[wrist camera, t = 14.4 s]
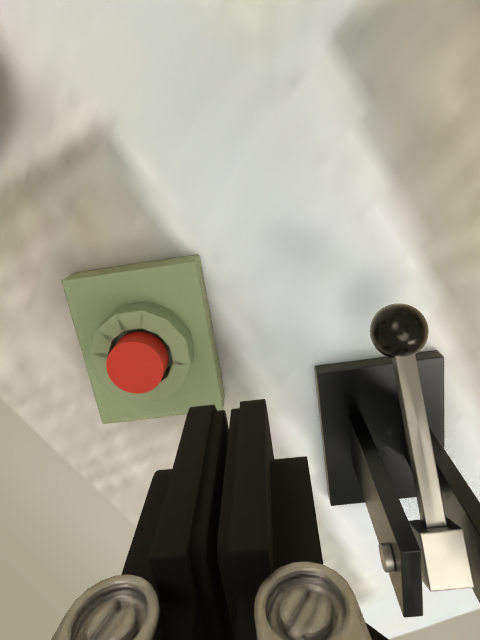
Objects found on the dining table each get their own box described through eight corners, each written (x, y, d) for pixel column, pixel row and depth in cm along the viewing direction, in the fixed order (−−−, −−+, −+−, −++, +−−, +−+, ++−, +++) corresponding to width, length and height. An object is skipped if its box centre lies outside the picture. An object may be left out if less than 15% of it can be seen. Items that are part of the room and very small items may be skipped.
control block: (73, 272, 32) (49, 287, 28) (199, 254, 31) (192, 267, 28) (111, 409, 36) (94, 438, 32) (225, 394, 35) (221, 423, 31)
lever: (361, 312, 28) (371, 302, 25) (413, 305, 28) (430, 294, 25) (405, 571, 26) (422, 596, 23) (463, 566, 26) (488, 590, 22)
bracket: (314, 365, 34) (353, 493, 21) (437, 349, 33) (556, 471, 20) (328, 495, 38) (368, 671, 25) (439, 484, 37) (539, 658, 24)
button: (108, 335, 30) (99, 345, 28) (162, 327, 29) (156, 337, 28) (121, 384, 31) (113, 397, 29) (173, 377, 31) (168, 390, 29)
